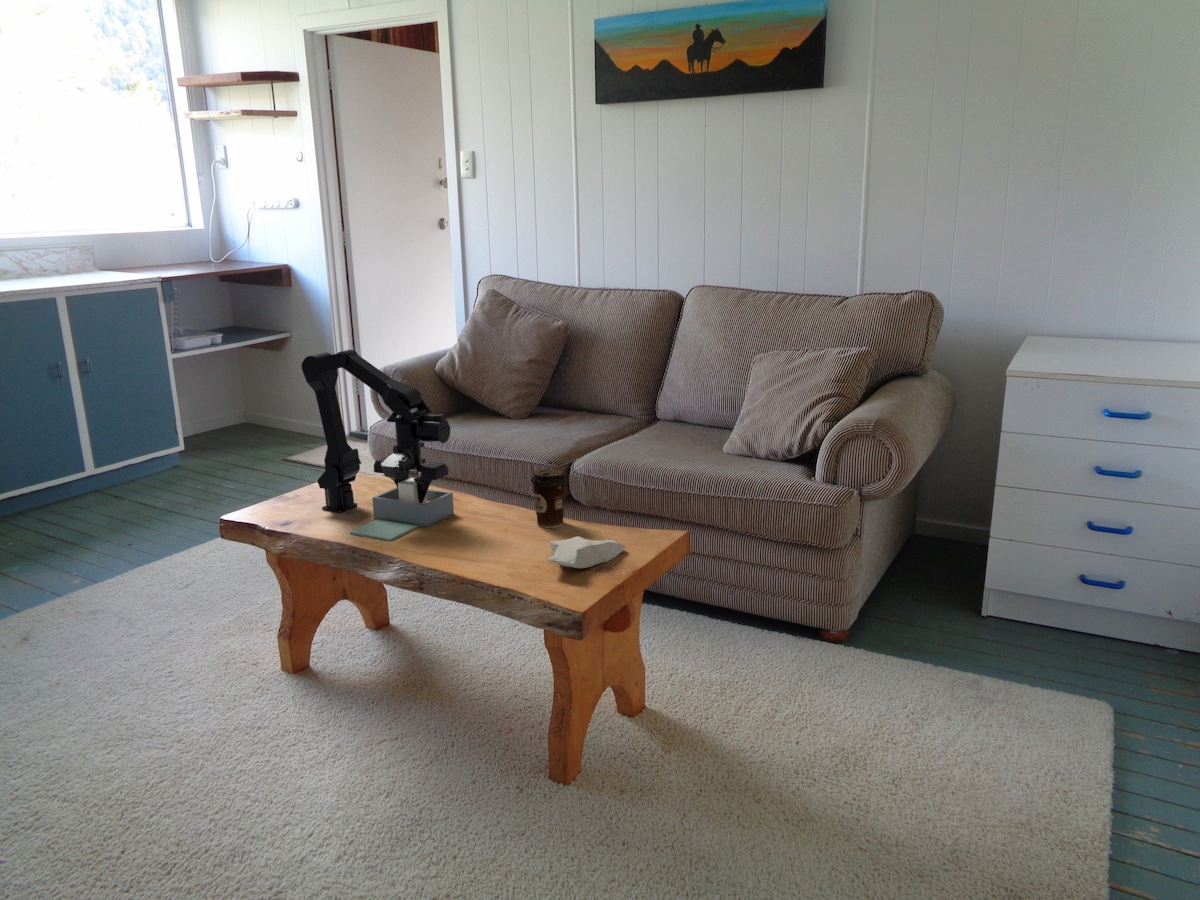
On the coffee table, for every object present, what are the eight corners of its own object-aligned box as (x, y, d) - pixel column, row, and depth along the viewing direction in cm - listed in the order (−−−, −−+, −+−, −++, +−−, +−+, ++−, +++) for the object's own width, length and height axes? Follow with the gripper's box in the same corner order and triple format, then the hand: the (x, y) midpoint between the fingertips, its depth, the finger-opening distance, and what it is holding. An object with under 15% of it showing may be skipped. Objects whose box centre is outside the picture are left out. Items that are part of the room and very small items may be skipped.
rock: (517, 569, 193) (570, 579, 183) (516, 547, 192) (569, 556, 183) (583, 547, 209) (635, 555, 200) (582, 527, 208) (634, 534, 199)
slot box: (374, 518, 225) (372, 497, 224) (402, 505, 235) (400, 485, 233) (427, 527, 218) (425, 505, 217) (453, 513, 228) (452, 492, 226)
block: (399, 506, 225) (397, 483, 223) (412, 500, 229) (410, 477, 227) (414, 508, 223) (412, 485, 221) (426, 502, 227) (425, 479, 225)
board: (350, 534, 215) (349, 532, 215) (377, 521, 224) (377, 519, 223) (390, 541, 210) (390, 539, 210) (417, 527, 218) (417, 525, 218)
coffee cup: (538, 532, 213) (536, 478, 210) (527, 521, 221) (525, 469, 218) (573, 526, 217) (571, 474, 213) (561, 516, 224) (559, 465, 221)
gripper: (355, 444, 219) (361, 506, 223) (419, 451, 211) (423, 516, 215) (386, 433, 228) (390, 493, 232) (447, 440, 220) (451, 502, 224)
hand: (413, 501), depth 226 cm, fingers closed on block, 4 cm apart
